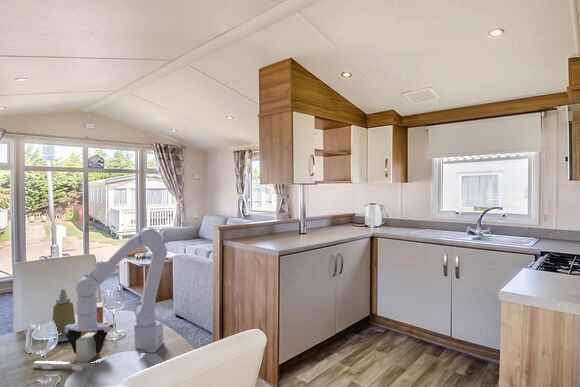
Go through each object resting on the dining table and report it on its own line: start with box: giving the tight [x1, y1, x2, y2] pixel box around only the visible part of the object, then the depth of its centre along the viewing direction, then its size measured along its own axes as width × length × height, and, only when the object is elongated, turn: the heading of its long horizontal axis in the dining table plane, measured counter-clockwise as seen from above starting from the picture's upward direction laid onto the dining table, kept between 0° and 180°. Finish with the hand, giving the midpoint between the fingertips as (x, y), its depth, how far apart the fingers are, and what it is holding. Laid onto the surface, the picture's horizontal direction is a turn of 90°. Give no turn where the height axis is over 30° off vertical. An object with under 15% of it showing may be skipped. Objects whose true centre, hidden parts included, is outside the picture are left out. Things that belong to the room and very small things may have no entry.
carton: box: [76, 333, 100, 362], centre depth 113 cm, size 4×6×7 cm, turn 176°
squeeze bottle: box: [51, 288, 76, 334], centre depth 135 cm, size 8×8×18 cm
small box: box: [81, 301, 104, 337], centre depth 130 cm, size 8×6×13 cm
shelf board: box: [33, 348, 116, 371], centre depth 111 cm, size 20×12×3 cm, turn 86°
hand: (88, 352), depth 113 cm, fingers open, 7 cm apart
